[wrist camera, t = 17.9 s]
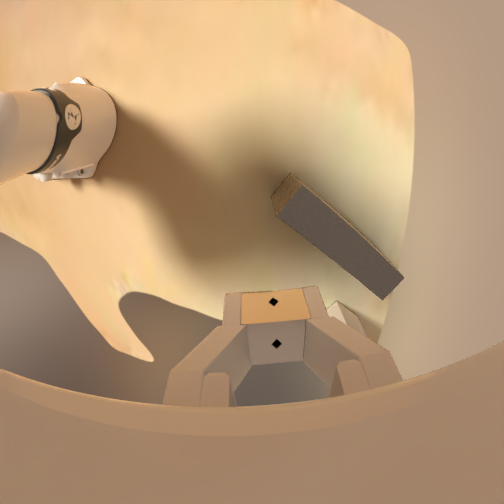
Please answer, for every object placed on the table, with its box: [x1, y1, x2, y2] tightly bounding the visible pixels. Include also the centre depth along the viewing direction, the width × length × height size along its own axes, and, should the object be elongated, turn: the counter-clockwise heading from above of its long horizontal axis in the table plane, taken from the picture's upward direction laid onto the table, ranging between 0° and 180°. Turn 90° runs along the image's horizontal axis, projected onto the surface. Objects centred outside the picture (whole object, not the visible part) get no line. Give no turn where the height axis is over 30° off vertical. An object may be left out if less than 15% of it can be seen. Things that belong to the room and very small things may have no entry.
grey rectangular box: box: [271, 173, 404, 300], centre depth 40 cm, size 22×6×10 cm, turn 53°
